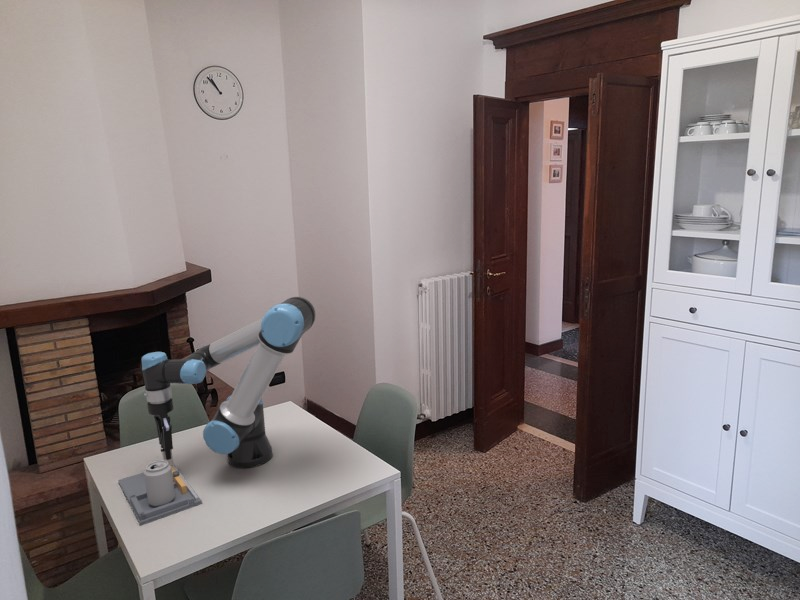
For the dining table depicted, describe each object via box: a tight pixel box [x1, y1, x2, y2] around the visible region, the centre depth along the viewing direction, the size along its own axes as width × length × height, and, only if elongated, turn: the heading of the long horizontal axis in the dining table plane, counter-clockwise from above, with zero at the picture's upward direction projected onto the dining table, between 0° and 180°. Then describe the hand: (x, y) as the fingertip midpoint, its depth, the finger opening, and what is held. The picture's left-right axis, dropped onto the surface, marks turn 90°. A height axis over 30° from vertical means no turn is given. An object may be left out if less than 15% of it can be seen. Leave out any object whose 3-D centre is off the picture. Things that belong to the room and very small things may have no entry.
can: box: [143, 459, 175, 507], centre depth 169 cm, size 8×8×12 cm
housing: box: [118, 462, 203, 527], centre depth 177 cm, size 30×17×2 cm, turn 36°
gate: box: [171, 465, 187, 494], centre depth 181 cm, size 17×2×3 cm, turn 36°
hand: (169, 466), depth 188 cm, fingers closed
